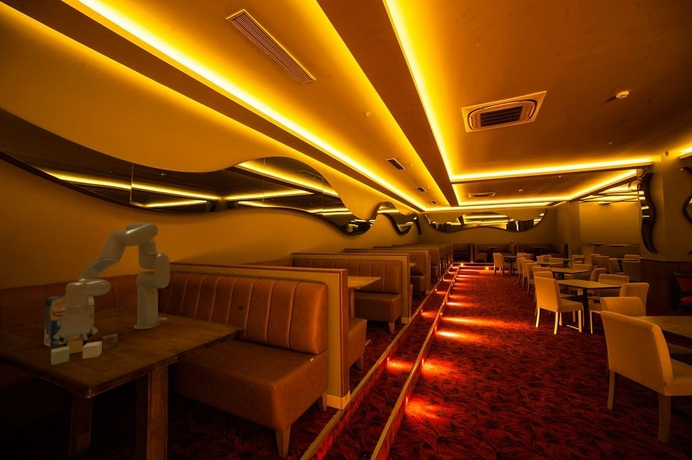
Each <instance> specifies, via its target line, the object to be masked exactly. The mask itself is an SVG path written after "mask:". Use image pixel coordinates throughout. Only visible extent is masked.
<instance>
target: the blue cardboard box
mask: <svg viewBox="0 0 692 460" xmlns="http://www.w3.org/2000/svg"><path fill="white" fill-rule="evenodd" d="M44 299H45V300H44V301H45V305H44V333H43V336H44V337H43V341H44V342H43V345H45V346H47V347H50V348H51V347H55V346H60V345H62V344H63V343H62V342H61V341H59V340H58V339H55V338H53V337H54V336H55V335H56V333H57V332H58V331H59V330H60V329H61V322H62V317H63V314H64V313H65V309H66V294H65V295H58V296H52V297H46V298H44ZM59 336H60V335H59ZM63 338H65V337H63ZM75 338H81V335H76V336H70V337H69V339H68V341H69V340H70V339H75ZM63 345H64V344H63Z"/></svg>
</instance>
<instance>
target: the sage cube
mask: <svg viewBox="0 0 692 460" xmlns="http://www.w3.org/2000/svg"><path fill="white" fill-rule="evenodd" d="M66 362H70V354H69V347H68V346H66V347H64V346H62V347H58V348H52V349H51V350H50V363H51V366H54V365H57V364H58V365H59V364H62V363H66Z"/></svg>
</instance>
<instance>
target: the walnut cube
mask: <svg viewBox="0 0 692 460" xmlns="http://www.w3.org/2000/svg"><path fill="white" fill-rule="evenodd" d="M118 343H119V342H118V334H117V332H116V333H113V334H112V333H111V334H106V335H103V336H102V350H107V349H113V348H116V347H118Z"/></svg>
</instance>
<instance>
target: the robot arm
mask: <svg viewBox="0 0 692 460" xmlns="http://www.w3.org/2000/svg"><path fill="white" fill-rule="evenodd" d="M158 233H159V227H158V226H157V225H156V224H155V223H152V222H133V223H132V222H131V223H129V224H127V225H126V226H125V229H117V230H114V231H112V232H111V233H110V234H109V236H108V238H107V239H106V241H105V243H104V246H103V248H102V249H101V252H100V253H99V255H98V256H97V257H96V258H95V259H94V260H93V261H92V262H91V263H89V264H88V266H86V267H85V268H84V269H83V270H82V272H81V274H80V275H79V277H78V278H79V279H78V278H77V281H73V282H69V283H67V284H66V285H65V286H66V287H65V295H66V309H65V313H64V314H63V317H62V322H61V329H60V330H59V331H58V332H57V333H56V335H55V336H54V337H53V338H55V339H58V340H59V341H61V342H62V343H63V347H66V346H67V342H68V339H69V337H70V336H76V335H80V336H81V335H82V337H84V341H83V346H85V345H86V344H87V343H89V339H90V338H91V337H92V336H93V335H95V334H96V333H97V332H98V331H99V330H98V328H97V327H95V326H94V324H93V325H92V315H91V311H90V310H89V309H90V308H92V307H93V306H92V305H91V306H90V305H89V304H88V301H89V296H93V297H94V296H97V297H98V296H103V295H105V294H107V293H108V292H109V291H110V290H111V288H112V285H111V282H109V281H108V280H106V279H98V277H99V275H100V274H101V273H102V272H103V271H104V270H106V269H108V268H110V267H113V266H115V265H117V264H118V263H119V262H120V261H121V259H122V256H123V255H124V252H125V251H126V248H127V247H135V246H137V248H138V265H139V267H140V268H141V269H144V270H145V269H146V270H147V271H142V272H140V273H138V275H137V276H136V278H135V283H136V288H137V319H136V320H137V322H136V323H137V324H135V325H133V329H135V330H149V329H153V328H157V327H159V326H161V322H167V319H168V318H167V317H159V315H158V313H159V311H158V310H159V308H158V307H159V293H158V290H157V289H164V288H166V287H167V286H168V285H169V284H170V280H171V268H170V267H171V263H170V262H171V261H170V258H169V256H168V255H167V254H166V253H164V252H158V251H157V244H156V240H155V239H154V238H155V237H157V235H158ZM59 335H60V336H59ZM63 337H65V338H63Z"/></svg>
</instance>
